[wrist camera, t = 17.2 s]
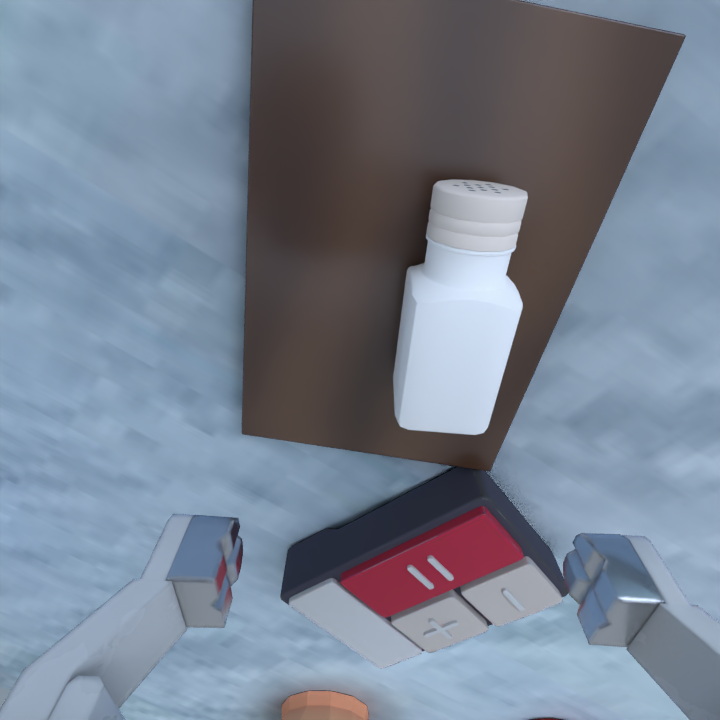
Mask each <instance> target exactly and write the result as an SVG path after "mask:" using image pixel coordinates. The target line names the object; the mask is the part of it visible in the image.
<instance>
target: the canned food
mask: <svg viewBox="0 0 720 720" xmlns="http://www.w3.org/2000/svg"><path fill="white" fill-rule="evenodd" d="M534 720H561V719H552V718H544V719H534Z"/></svg>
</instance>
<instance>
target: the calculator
mask: <svg viewBox="0 0 720 720" xmlns="http://www.w3.org/2000/svg"><path fill="white" fill-rule="evenodd" d="M567 594H568V590H567V587H566V585H565V580H564V578H563V576H562V573H561V571H560V569H559V566H558V564H557V562H556V560H555V557H554V555H553V553H552V551H551V550H550V549H549V547H548V546H547V545H546V544H545V543H544V541H543V540H542V539H541V538H540V537H539V535H538V534H537V533H536V532H535V531H534V529H533V528H532V527H531V526H530V525H529V523H528V522H527V521H526V520H525V519H524V517H523V516H522V515H521V514H520V513H519V511H518V510H517V509H516V508H515V506H514V505H513V504H512V503H511V502H510V500H509V499H508V498H507V497H506V496H505V494H504V493H503V492H502V491H501V490H500V488H499V487H498V486H497V485H496V484H495V482H494V481H493V480H492V479H491V478H490V476H489V475H488V474H487V473H486V472H485V471H484V470H478V469H471V468H464V467H456V468H454V469H452V470H450V471H449V472H447V473H445V474H443V475H441V476H439V477H437V478H435V479H433V480H431V481H430V482H428V483H426V484H424V485H422V486H420V487H418V488H416V489H414V490H412V491H410V492H409V493H407V494H405V495H403V496H401V497H399V498H397V499H395V500H393V501H391V502H389V503H388V504H386V505H384V506H382V507H380V508H378V509H376V510H374V511H372V512H370V513H368V514H367V515H365V516H363V517H361V518H359V519H357V520H355V521H353V522H351V523H349V524H347V525H346V526H344V527H342V528H340V529H338V530H334V529H324V530H322V531H320V532H319V533H317V534H315V535H313V536H311V537H309V538H307V539H305V540H303V541H302V542H300V543H298V544H296V545H294V546H292V547H291V548H289V549H288V553H287V558H286V565H285V571H284V577H283V583H282V589H281V596H280V597H281V599H282V600H283V601H284V602H285V603H287V604H288V605H290V606H291V607H292V608H294V609H295V610H296V611H298V612H299V613H301V614H302V615H304V616H305V617H306V618H308V619H309V620H311V621H312V622H314V623H315V624H316V625H318V626H319V627H321V628H322V629H324V630H325V631H326V632H328V633H329V634H331V635H332V636H334V637H335V638H336V639H338V640H339V641H341V642H342V643H344V644H345V645H346V646H348V647H349V648H351V649H352V650H353V651H355V652H356V653H358V654H359V655H361V656H362V657H363V658H365V659H366V660H368V661H369V662H371V663H372V664H373V665H375V666H376V667H378V668H381V669H382V668H386V667H388V666H391V665H393V664H396V663H399V662H401V661H404V660H406V659H409V658H412V657H414V656H417V655H419V654H421V653H422V651H427V652H429V653H432V652H435V651H438V650H440V649H443V648H446V647H448V646H451V645H453V644H456V643H459V642H461V641H464V640H466V639H469V638H472V637H474V636H477V635H479V634H482V633H485V632H487V631H488V626H489V625H492V624H494V625H495V626H497V627H500V626H503V625H506V624H508V623H511V622H513V621H516V620H519V619H521V618H524V617H526V616H529V615H532V614H534V613H537V612H539V611H542V610H545V609H547V608H550V607H552V606H555V605H557V604H560V603H562V602H563V599H562V597H564V596H566V595H567Z"/></svg>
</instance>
